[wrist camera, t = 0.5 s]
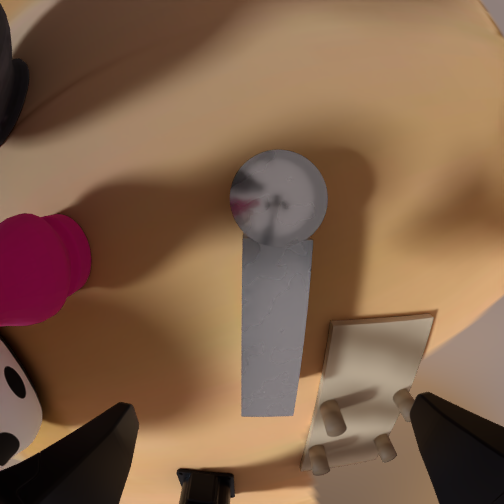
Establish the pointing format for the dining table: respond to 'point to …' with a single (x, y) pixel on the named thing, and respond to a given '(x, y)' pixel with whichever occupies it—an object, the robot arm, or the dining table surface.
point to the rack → (364, 389)
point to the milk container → (16, 406)
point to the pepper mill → (40, 266)
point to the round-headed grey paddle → (275, 273)
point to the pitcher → (10, 81)
